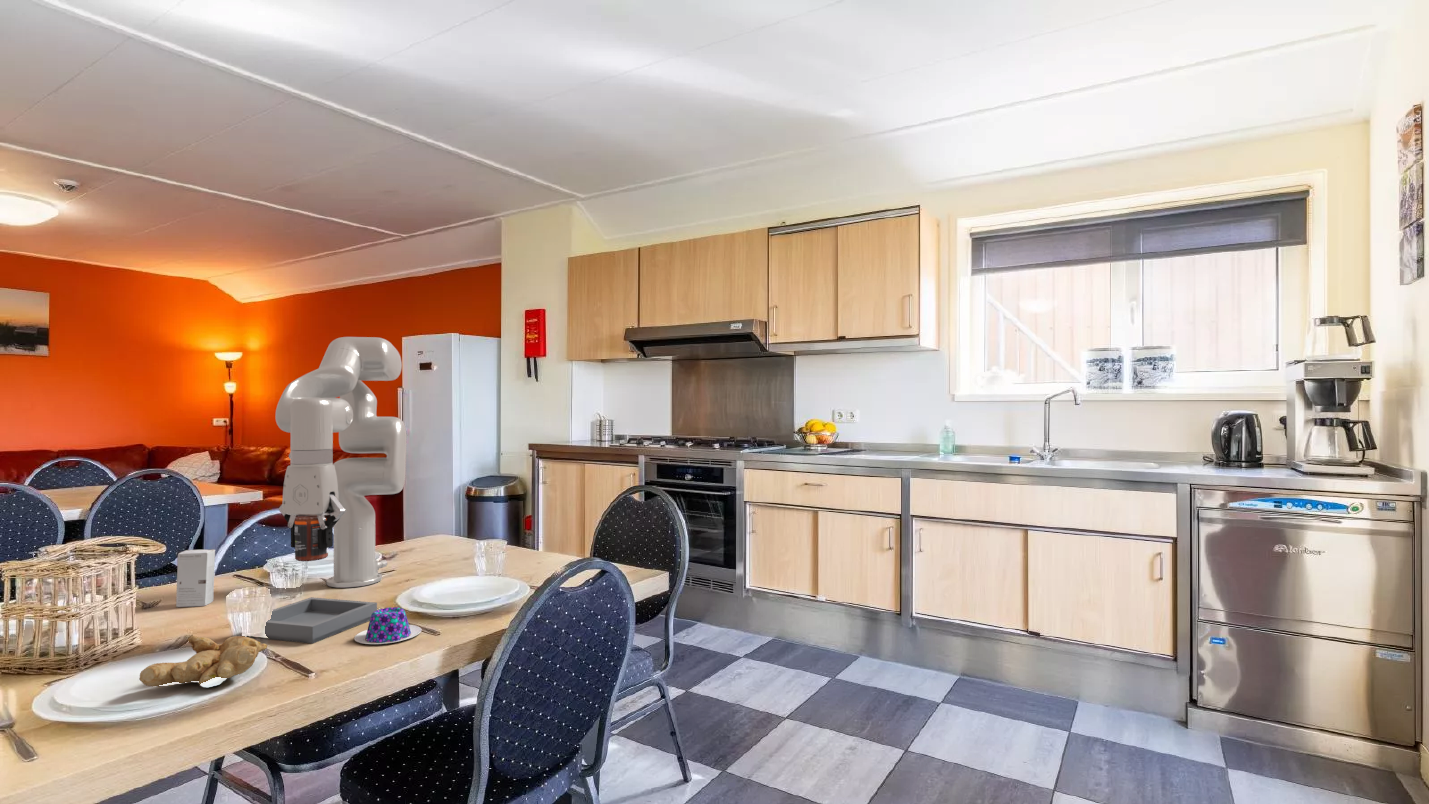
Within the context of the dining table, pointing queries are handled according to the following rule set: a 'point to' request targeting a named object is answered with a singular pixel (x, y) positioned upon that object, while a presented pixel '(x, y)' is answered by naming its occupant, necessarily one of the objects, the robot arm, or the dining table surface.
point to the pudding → (387, 627)
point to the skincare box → (195, 578)
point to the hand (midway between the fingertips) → (311, 546)
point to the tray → (317, 619)
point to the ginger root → (206, 661)
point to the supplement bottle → (308, 539)
